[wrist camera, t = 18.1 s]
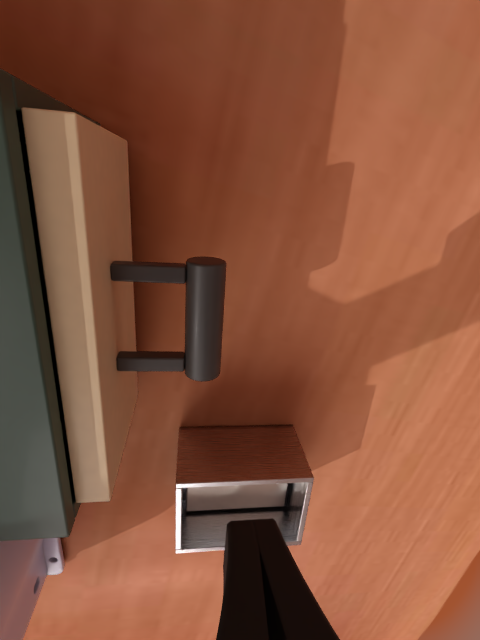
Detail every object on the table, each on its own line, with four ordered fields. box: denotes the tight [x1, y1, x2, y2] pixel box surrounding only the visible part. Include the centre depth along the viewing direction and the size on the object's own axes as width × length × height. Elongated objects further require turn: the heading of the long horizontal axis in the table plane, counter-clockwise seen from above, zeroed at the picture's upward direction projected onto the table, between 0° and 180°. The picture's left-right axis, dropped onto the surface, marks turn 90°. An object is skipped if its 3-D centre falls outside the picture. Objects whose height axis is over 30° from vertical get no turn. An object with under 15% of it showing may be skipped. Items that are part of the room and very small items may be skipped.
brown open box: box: [175, 425, 314, 553], centre depth 20 cm, size 5×7×4 cm
